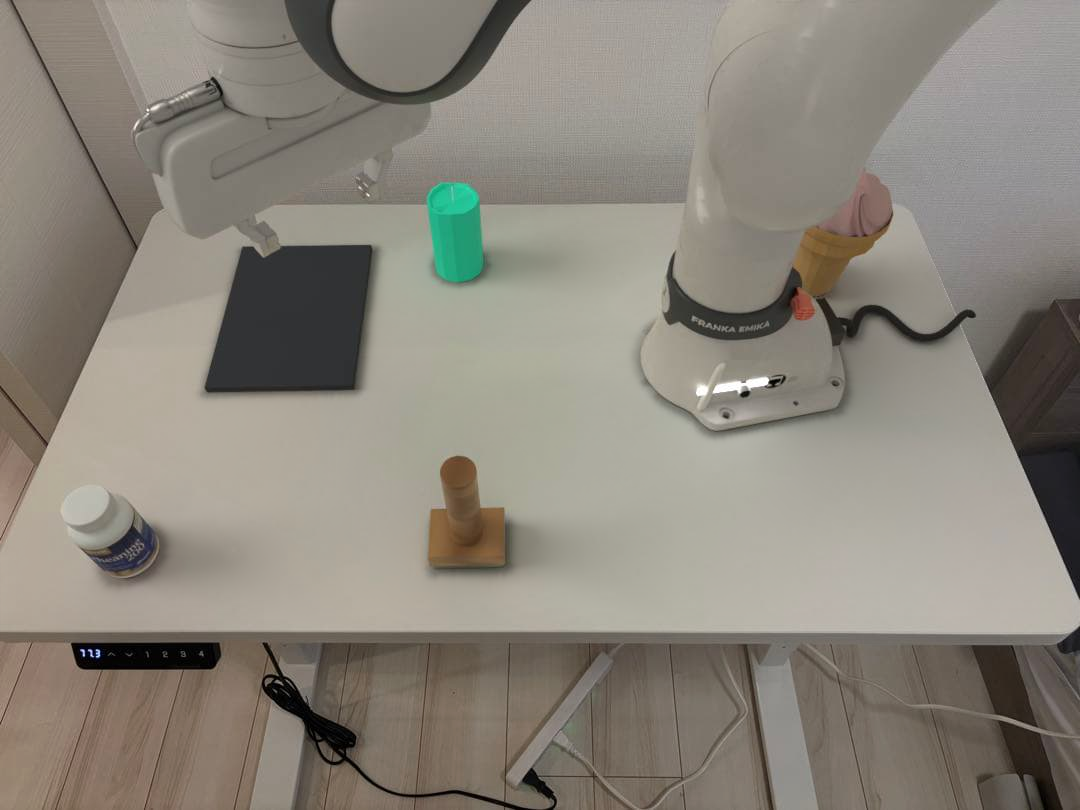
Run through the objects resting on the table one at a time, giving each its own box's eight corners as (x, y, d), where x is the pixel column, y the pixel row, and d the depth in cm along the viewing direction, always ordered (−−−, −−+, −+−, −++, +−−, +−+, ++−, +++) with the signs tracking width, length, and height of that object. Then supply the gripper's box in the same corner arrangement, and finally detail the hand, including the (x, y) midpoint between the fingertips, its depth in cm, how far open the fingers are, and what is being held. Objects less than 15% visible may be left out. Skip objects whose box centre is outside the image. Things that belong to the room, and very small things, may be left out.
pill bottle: (107, 589, 73) (56, 543, 65) (97, 542, 76) (47, 492, 68) (166, 564, 75) (123, 516, 67) (154, 519, 78) (112, 467, 70)
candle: (482, 282, 96) (477, 205, 87) (432, 282, 96) (422, 204, 87) (484, 248, 100) (480, 170, 90) (437, 247, 100) (427, 169, 90)
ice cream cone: (775, 317, 94) (827, 180, 77) (757, 252, 100) (802, 113, 84) (866, 316, 94) (937, 178, 78) (842, 251, 100) (903, 112, 84)
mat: (372, 249, 100) (371, 244, 99) (353, 389, 87) (352, 385, 86) (244, 251, 99) (242, 246, 99) (206, 392, 87) (204, 387, 86)
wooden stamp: (505, 521, 78) (500, 444, 66) (505, 569, 75) (501, 497, 63) (433, 523, 78) (417, 446, 66) (431, 570, 75) (413, 499, 63)
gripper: (145, 143, 45) (220, 309, 56) (435, 20, 53) (449, 187, 64) (96, 92, 47) (177, 261, 59) (380, -17, 55) (403, 149, 67)
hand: (321, 221), depth 61 cm, fingers open, 8 cm apart
